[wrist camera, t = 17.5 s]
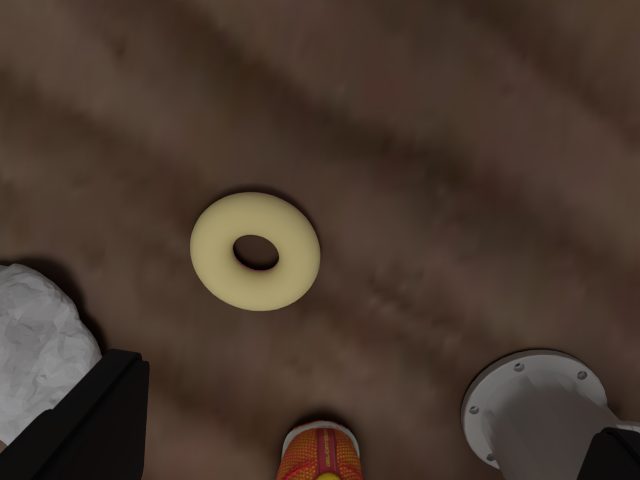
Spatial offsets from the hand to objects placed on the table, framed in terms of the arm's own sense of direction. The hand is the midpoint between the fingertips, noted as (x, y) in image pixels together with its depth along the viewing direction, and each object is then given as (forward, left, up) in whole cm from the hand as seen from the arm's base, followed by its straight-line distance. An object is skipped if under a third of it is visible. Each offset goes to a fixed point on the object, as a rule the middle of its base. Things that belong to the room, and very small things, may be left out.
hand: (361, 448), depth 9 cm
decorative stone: (+22, +17, -27) cm, 38 cm away
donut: (+5, +5, -27) cm, 28 cm away
